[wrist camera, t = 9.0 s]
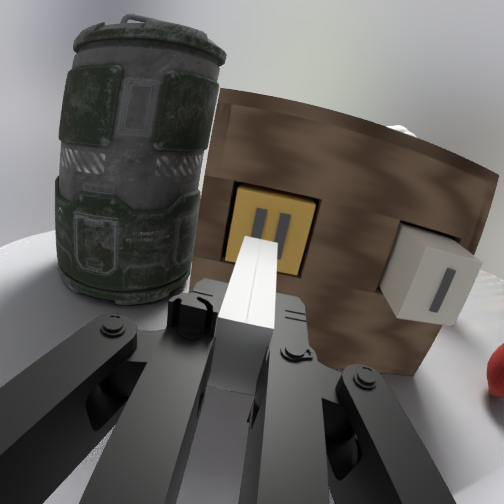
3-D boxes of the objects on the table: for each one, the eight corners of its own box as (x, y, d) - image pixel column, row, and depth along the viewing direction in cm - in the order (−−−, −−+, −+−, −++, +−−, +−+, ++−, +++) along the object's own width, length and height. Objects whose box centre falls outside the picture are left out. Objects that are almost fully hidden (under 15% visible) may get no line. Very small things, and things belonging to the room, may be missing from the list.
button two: (293, 249, 27) (308, 190, 25) (297, 276, 22) (316, 206, 20) (234, 237, 27) (245, 177, 25) (224, 261, 22) (237, 189, 20)
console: (392, 329, 33) (452, 161, 26) (413, 375, 26) (499, 174, 18) (203, 294, 33) (236, 99, 26) (184, 340, 26) (220, 87, 18)
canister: (146, 236, 44) (175, 43, 34) (218, 285, 36) (267, 32, 25) (44, 255, 33) (64, 24, 22) (89, 328, 24) (123, -23, 13)
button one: (428, 293, 24) (450, 237, 22) (454, 327, 19) (484, 263, 17) (377, 283, 24) (398, 222, 22) (397, 319, 19) (427, 247, 17)
